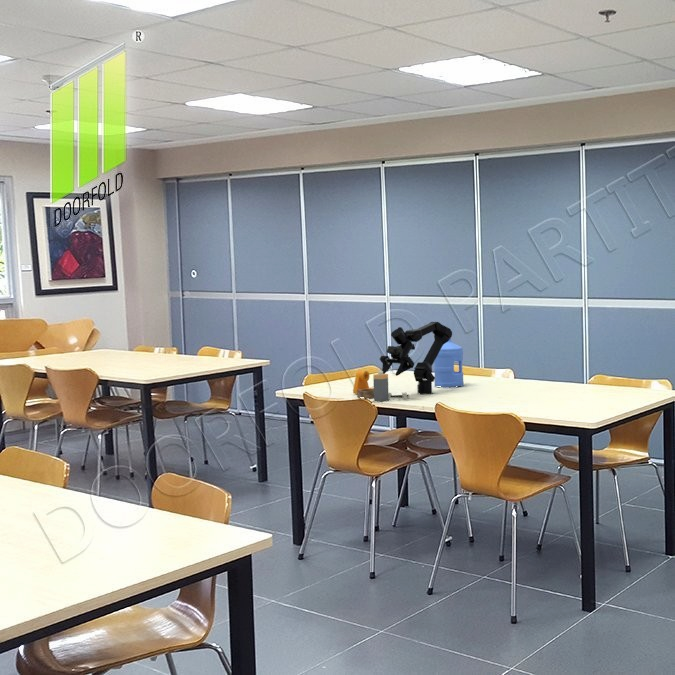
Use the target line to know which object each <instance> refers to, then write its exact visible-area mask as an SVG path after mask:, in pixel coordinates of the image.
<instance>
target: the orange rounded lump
mask: <svg viewBox="0 0 675 675" xmlns="http://www.w3.org/2000/svg"><path fill="white" fill-rule="evenodd" d="M369 380H370V373H369V371H366V370H358V371H357V372H356V374H355V378H354V383H353V384H354V385H353V390H352V393H353V394H356V395H357V389H374V387H370V385H369V382H368V381H369Z"/></svg>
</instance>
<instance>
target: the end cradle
mask: <svg viewBox="0 0 675 675" xmlns="http://www.w3.org/2000/svg"><path fill="white" fill-rule="evenodd" d="M356 395H357V398H358V399H360V397H364V398H369V399H368V400H374V399H373V398H374V389H357V394H356Z"/></svg>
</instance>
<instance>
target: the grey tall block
mask: <svg viewBox="0 0 675 675" xmlns="http://www.w3.org/2000/svg"><path fill="white" fill-rule="evenodd" d="M372 376H373V378H372V380H373V388H374V399H373V401H374V402H378V403H383V402H385V403H386V402H389V401H390V400H389V399H390V398H389V393H390V392H389V373H385V374H383V371H382V370H378V371H377V374H376V373H375V374H373V375H372Z"/></svg>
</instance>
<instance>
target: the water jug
mask: <svg viewBox="0 0 675 675" xmlns="http://www.w3.org/2000/svg"><path fill="white" fill-rule="evenodd" d="M463 358H464V350H463V347H462V346H461V345H458V344H456V343H454V342H452V337H451V338H450V340H449V341H448V342H446V343H445V344H444V345H443V346H442V348H441V350H440V352H439V353H438V355H437V357H436V359H435V361H434V363H433V365H434V366H433V370H434V372H433V373H434V377H435V379H434V387H436V386H441V387H456V386H462V387H463V386H464V385H465V384H464V382H465V381H464V371H463ZM455 362H458V371H455V365H454V364H455ZM456 388H457V387H456Z"/></svg>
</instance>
